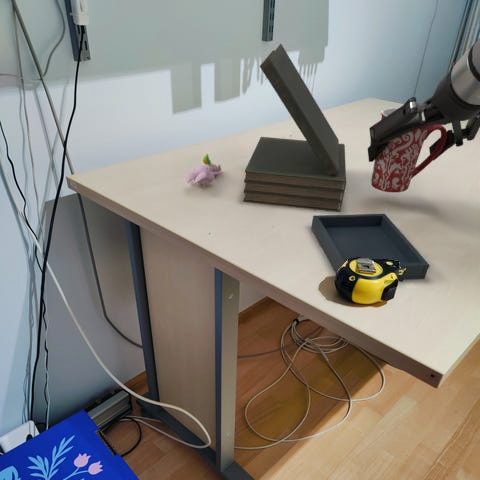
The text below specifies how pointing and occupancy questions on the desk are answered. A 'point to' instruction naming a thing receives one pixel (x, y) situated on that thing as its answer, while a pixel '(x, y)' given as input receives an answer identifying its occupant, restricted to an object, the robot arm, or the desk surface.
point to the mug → (403, 158)
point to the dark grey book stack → (296, 150)
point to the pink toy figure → (204, 172)
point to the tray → (367, 242)
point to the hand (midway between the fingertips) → (401, 154)
